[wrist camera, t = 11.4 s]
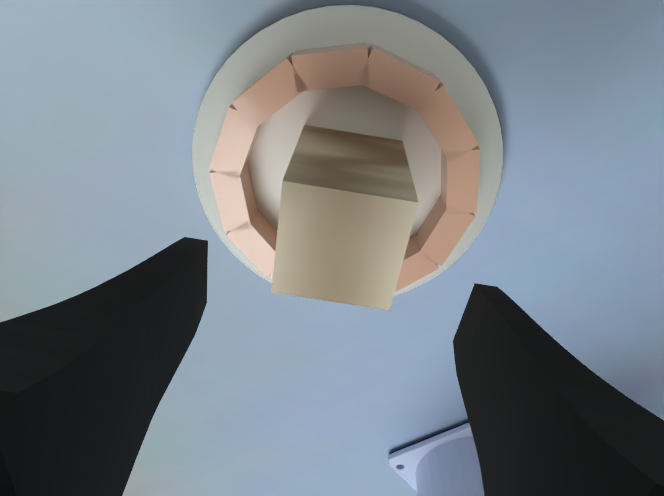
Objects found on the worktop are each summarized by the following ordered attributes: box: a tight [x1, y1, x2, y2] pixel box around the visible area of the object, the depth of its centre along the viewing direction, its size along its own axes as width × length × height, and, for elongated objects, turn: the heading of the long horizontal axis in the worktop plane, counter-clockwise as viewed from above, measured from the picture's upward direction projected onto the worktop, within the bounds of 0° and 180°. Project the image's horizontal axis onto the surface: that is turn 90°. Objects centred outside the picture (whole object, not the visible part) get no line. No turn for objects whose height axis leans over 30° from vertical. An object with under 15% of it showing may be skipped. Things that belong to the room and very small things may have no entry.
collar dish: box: [192, 5, 503, 296], centre depth 19 cm, size 13×13×2 cm
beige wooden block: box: [271, 125, 419, 310], centre depth 17 cm, size 4×4×6 cm
